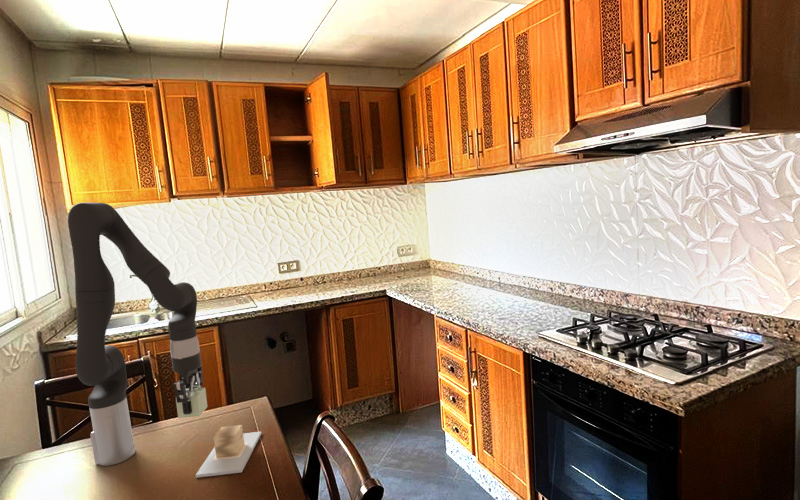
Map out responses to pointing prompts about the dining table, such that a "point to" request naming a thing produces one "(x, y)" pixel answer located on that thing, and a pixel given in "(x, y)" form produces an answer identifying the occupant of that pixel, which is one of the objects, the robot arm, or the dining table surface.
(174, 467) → the dining table surface
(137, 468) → the dining table surface
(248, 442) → the white rectangular board
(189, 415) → the sage block
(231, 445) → the maple block
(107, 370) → the robot arm
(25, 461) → the dining table surface
